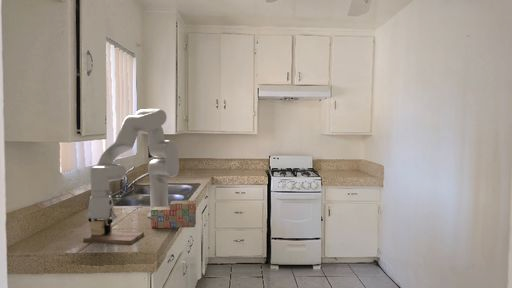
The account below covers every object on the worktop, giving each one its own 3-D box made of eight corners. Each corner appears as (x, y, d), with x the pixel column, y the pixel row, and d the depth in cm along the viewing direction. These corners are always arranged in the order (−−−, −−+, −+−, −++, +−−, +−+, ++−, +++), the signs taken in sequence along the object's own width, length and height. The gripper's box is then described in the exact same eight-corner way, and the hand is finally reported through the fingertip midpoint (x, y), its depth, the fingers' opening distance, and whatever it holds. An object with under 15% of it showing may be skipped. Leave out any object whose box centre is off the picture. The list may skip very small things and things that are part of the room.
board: (99, 233, 163) (99, 229, 162) (143, 235, 159) (143, 232, 159) (83, 241, 151) (83, 238, 151) (130, 244, 148) (130, 240, 147)
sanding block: (102, 230, 161) (101, 217, 161) (111, 230, 161) (111, 217, 160) (91, 235, 153) (90, 222, 153) (101, 236, 153) (100, 222, 152)
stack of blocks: (151, 228, 170) (150, 203, 169) (153, 224, 176) (153, 200, 176) (194, 227, 172) (194, 203, 171) (196, 223, 178) (195, 200, 177)
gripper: (122, 192, 158) (123, 231, 159) (88, 191, 161) (89, 229, 162) (113, 195, 151) (114, 236, 152) (77, 194, 153) (78, 234, 155)
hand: (101, 232), depth 157 cm, fingers closed on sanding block, 5 cm apart
